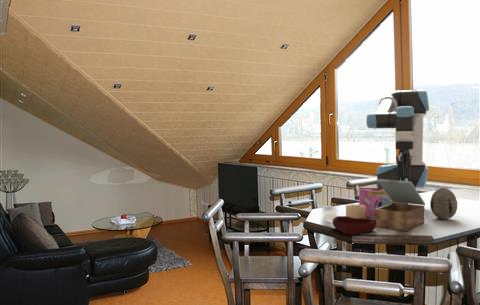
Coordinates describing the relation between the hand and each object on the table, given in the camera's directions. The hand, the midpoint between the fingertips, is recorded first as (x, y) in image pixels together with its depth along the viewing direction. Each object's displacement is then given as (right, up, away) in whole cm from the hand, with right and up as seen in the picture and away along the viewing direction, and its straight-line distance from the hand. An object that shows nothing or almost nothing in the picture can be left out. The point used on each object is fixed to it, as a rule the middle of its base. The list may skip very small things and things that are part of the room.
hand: (403, 192), depth 194 cm
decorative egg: (+23, -14, +10) cm, 29 cm away
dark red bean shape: (-27, -16, -14) cm, 34 cm away
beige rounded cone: (-20, -14, +9) cm, 26 cm away
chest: (-3, -14, -2) cm, 15 cm away
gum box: (-3, -14, +18) cm, 23 cm away
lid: (-2, -1, -3) cm, 4 cm away
